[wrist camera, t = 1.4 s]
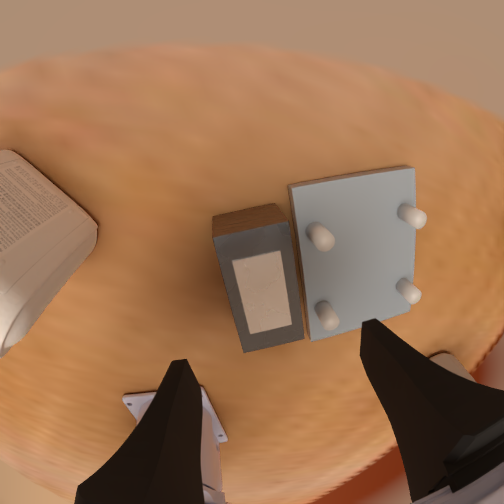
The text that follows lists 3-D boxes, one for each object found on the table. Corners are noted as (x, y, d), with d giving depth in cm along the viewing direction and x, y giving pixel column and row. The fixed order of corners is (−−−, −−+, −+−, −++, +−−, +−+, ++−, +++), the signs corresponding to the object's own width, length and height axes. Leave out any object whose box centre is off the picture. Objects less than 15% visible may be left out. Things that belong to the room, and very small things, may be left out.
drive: (290, 305, 23) (305, 339, 19) (238, 317, 23) (243, 354, 19) (274, 202, 20) (289, 221, 16) (212, 215, 19) (212, 238, 16)
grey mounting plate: (404, 305, 24) (421, 324, 21) (307, 334, 24) (318, 358, 21) (406, 165, 19) (431, 173, 17) (287, 185, 19) (300, 195, 16)
